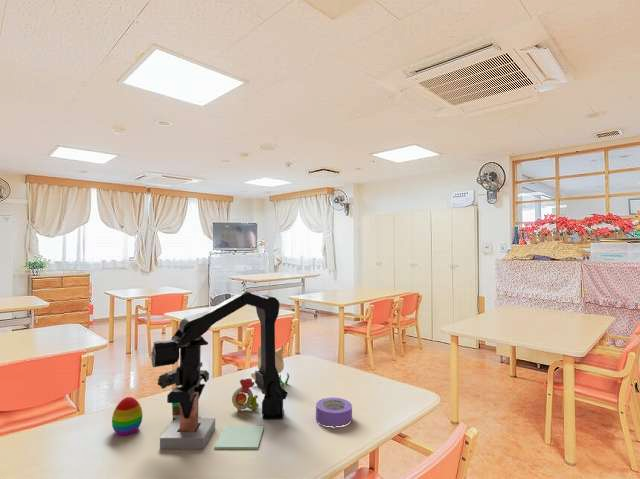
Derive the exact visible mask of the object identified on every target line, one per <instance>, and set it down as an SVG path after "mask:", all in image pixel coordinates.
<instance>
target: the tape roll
mask: <svg viewBox="0 0 640 479" xmlns="http://www.w3.org/2000/svg"><path fill="white" fill-rule="evenodd" d="M352 418H353V404H352V403H351V402H350V401H349V400H347V399H344V398H341V397H324V398H321V399H319V400H318V401H316V405H315V421H316V420H317V421H318V422H319V423H320V424H322V425H325V426H333V427H336V426H342V425H346V424H348V423H349V422H350V421H351V420H352V421H353V419H352ZM320 424H319V425H320Z"/></svg>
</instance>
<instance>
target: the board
mask: <svg viewBox="0 0 640 479" xmlns="http://www.w3.org/2000/svg"><path fill="white" fill-rule="evenodd" d="M264 428H265V426H264V425H224V426H223V429H222V430H221V433H220V435H219V437H218V439H217V441H216V443H215V445H214V448H213V449H214V450H258V449H259V448H260V447H259V446H260V442H261V439H262V435H263V432H264Z"/></svg>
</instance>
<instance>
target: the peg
mask: <svg viewBox="0 0 640 479" xmlns="http://www.w3.org/2000/svg"><path fill="white" fill-rule="evenodd" d="M194 395H197V397H196V400H195V402H194V405H193V408H192V411H191V413H190V416H189V418H188V419H185V418H184V415H183V412H182V408H181V405H180V432H194V431H195V430H196V428H197V427H198V418H199V400H200V398H199V392H194Z"/></svg>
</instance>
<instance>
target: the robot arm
mask: <svg viewBox="0 0 640 479" xmlns="http://www.w3.org/2000/svg"><path fill="white" fill-rule="evenodd" d="M247 305H248V306H252V307H255V309H256V314H257V317H258V320H259V323H260V347H261V367H260V369H258V370H255V371H254V373H255V376H256V379H255V380H254V384H256V387H257V388H258V390H260V391H261V393H262V395H264V396H263V399H262V401H261V415H262V419H263V420H264V419H265V420H278V419H280V420H281V419H283V417H284V412H285V410H284V400H286V398H287V396H288V391H287V390H285V389H284V388H283V387H282V383H281V382H280V378H279V377H280V373H278V371H277V369H276V366H275V350H276V325H275V324H276V322H277V319H278V317H279V313H280V300H278V299H277V298H276V297H274V296H271V295H265V294H262V295H260V296H259V295H257V294H254V293H252V292H251V291H250V292H249V291H245V290H241V291H240V292H238V293H237V294H235V295H233V296H232V297H230V298H227V299H226V300H224V301H222V302H220V303H218V304H217V305H215V306H214V307H212V308H209V309H208V310H206V311H203V312H199V313H195V314H192V315H190V316H186V317H184V318H182V319H181V321H180V322H179V325H178V329H177V330H176V331H175V333H174V335H173V336H172V337H171V339H170V340H165V341H154V342H153V346H152V351H151V353H150V355H151V356H150V357H151V358H150V359H151V366H152V368H158V367H165V366H166V367H167V366H172V365H175V364H176V363H178V361H179V366H177V367H176V369H173V370H170V371H168V372H165V373H162V374H160V375H159V377H158V379H157V386H160V388H161V389H162V390H163V389H166V388H167V387H169V386H172V385H175V387H174V388H173V389H171V391H170V392H169V393H168V394H167V397H166V399H167V400H166V402H167V403H168V404H172V403H180V405H181V408H182V412H183V415H184V418H185V419H188V418H189V416H190V413H191V411H192V408H193V405H194V402H195V400H196V397H197V395H194V392H199V399H200V398H201V395H202V393H203V390H204V388H205V386H206V384H205V383H207V382H208V381H209V380H210V373H209V371H207V370H203V369H202V370H201V368H202V367H203V362H202V361H201V359H202V358H201V354H202V353H201V352H202V350H201V349H202V346H208V345H209V342H208V341H207V340H205V338H204V337H203V335H204V334H205V333H207V332H208V331H209V330H210V328H212V326H214V324H215V323H217V322H219V321H221V320H222V319H224V318H226V317H228V316H230V315H231V314H233V313H234V312H236V311H238V310H240V309H242V308H243V307H245V306H247ZM202 380H203V381H204V383H201V381H202ZM181 386H182V387H181Z"/></svg>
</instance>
